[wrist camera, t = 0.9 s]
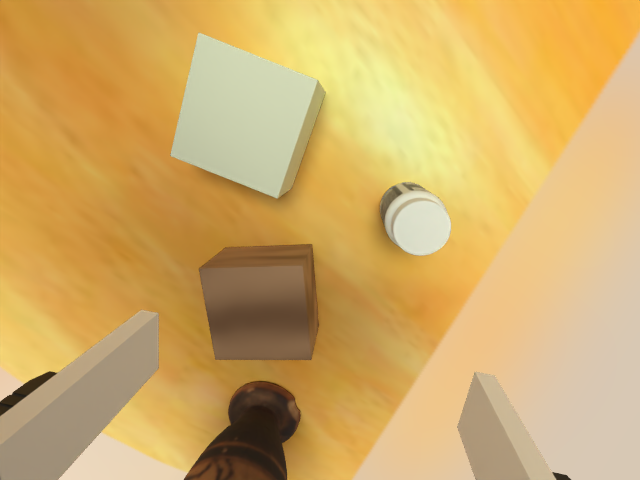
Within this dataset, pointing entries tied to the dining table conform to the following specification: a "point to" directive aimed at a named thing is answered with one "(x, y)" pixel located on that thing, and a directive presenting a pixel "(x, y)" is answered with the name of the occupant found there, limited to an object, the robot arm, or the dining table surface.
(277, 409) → the vase
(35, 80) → the dining table surface
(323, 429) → the dining table surface
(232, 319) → the walnut block
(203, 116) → the sage block
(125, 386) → the robot arm
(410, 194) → the pill bottle
